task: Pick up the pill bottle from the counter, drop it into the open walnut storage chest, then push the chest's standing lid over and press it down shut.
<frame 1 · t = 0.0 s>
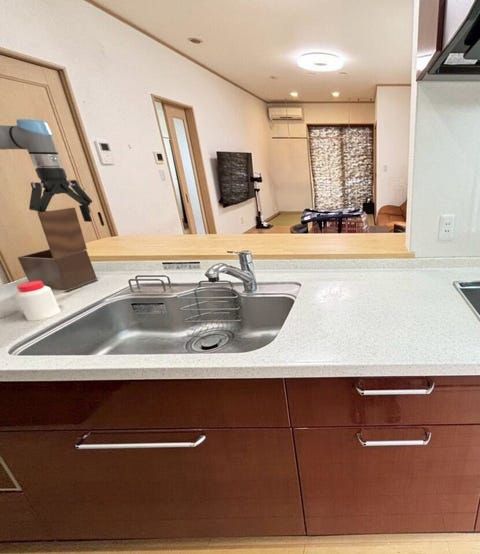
hand: (71, 224, 116), 23 cm above the worktop, tool pointing down, fingers open, 13 cm apart
chest lid: (64, 232, 109), point 22 cm above the worktop, hinge at 95.0°
chest: (66, 285, 118), on the worktop
pill bottle: (44, 315, 96), on the worktop
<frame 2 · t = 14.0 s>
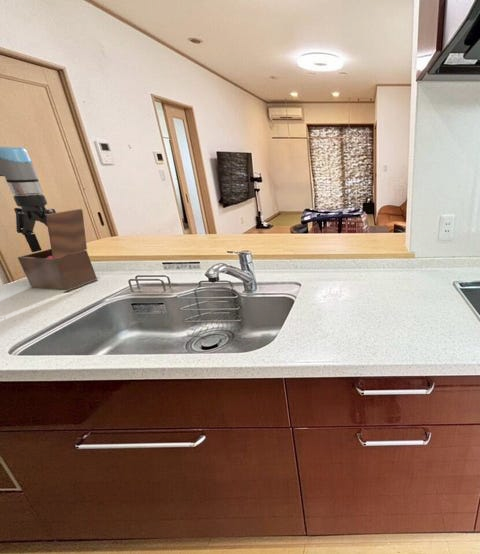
hand: (51, 252, 113), 14 cm above the worktop, tool pointing down, fingers open, 12 cm apart
chest lid: (67, 233, 108), point 22 cm above the worktop, hinge at 105.5°
pill bottle: (66, 283, 118), point 1 cm above the worktop, touching chest
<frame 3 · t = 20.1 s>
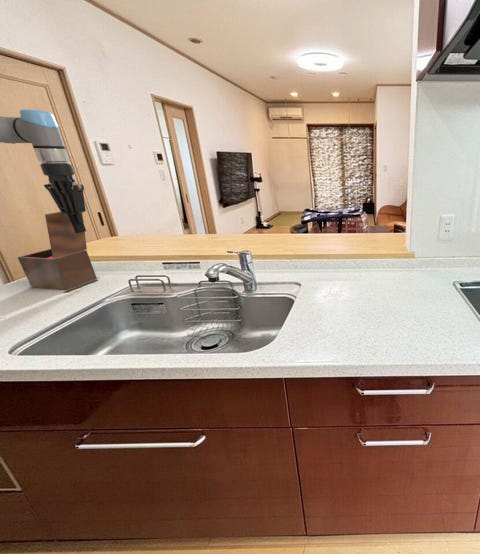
hand: (80, 232, 108), 22 cm above the worktop, tool pointing down, fingers closed
chest lid: (67, 233, 108), point 22 cm above the worktop, hinge at 104.6°, touching gripper
everything else where it was.
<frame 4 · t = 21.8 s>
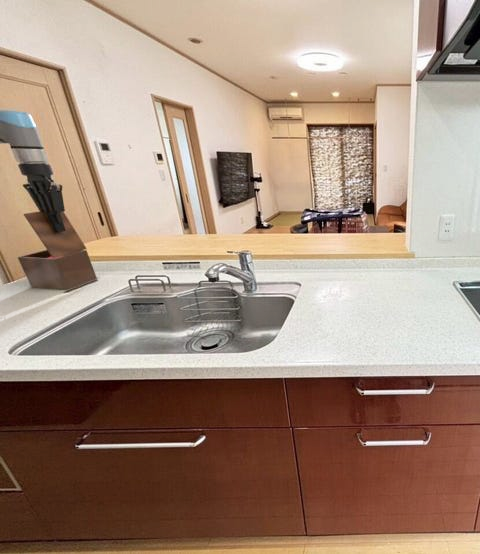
hand: (60, 231, 109), 22 cm above the worktop, tool pointing down, fingers closed
chest lid: (57, 232, 109), point 22 cm above the worktop, hinge at 73.8°, touching gripper
everything else where it was.
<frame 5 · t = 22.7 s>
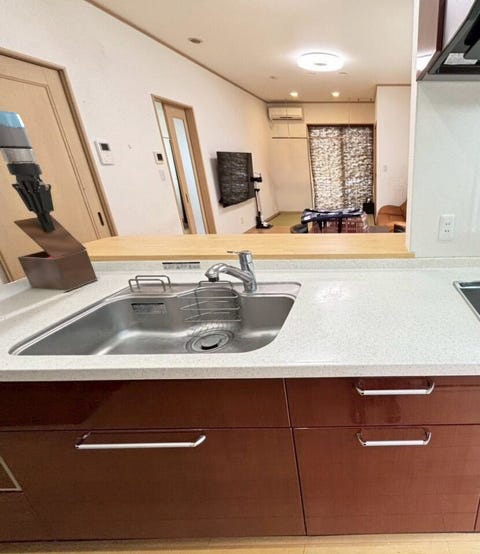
hand: (49, 230, 109), 22 cm above the worktop, tool pointing down, fingers closed
chest lid: (52, 236, 110), point 20 cm above the worktop, hinge at 52.0°, touching gripper
everything else where it was.
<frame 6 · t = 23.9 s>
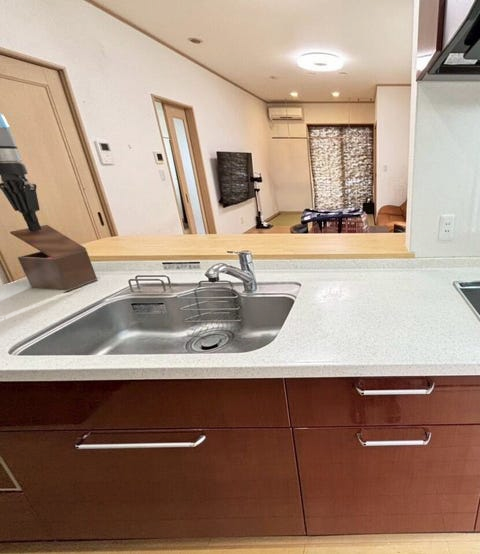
hand: (35, 230, 110), 22 cm above the worktop, tool pointing down, fingers closed
chest lid: (50, 241, 111), point 18 cm above the worktop, hinge at 33.0°
everything else where it was.
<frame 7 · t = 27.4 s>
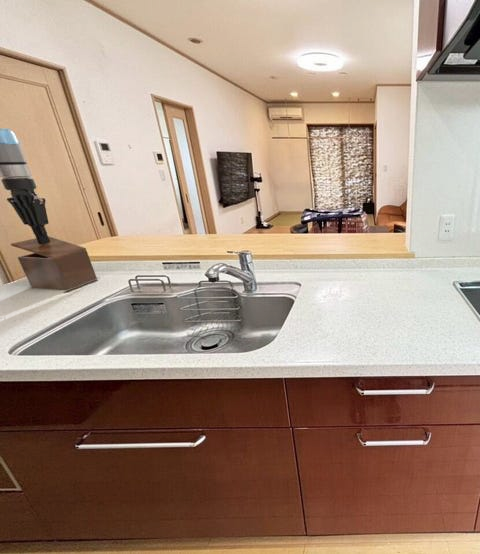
hand: (44, 243, 111), 17 cm above the worktop, tool pointing down, fingers closed
chest lid: (50, 246, 112), point 16 cm above the worktop, hinge at 15.3°, touching gripper
everything else where it was.
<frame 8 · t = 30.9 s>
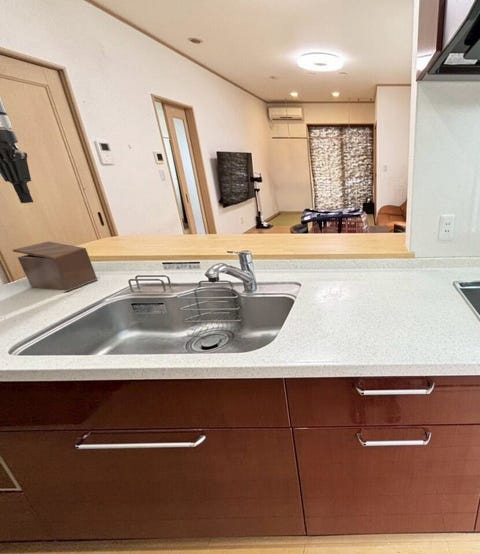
hand: (27, 202, 106), 32 cm above the worktop, tool pointing down, fingers closed
chest lid: (50, 249, 112), point 15 cm above the worktop, hinge at 7.1°
everything else where it was.
at the end: pill bottle inside the target area in the chest (0.2 cm from its centre), point 0.6 cm above the chest's base; chest lid at +7° (first picture: +95°) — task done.
